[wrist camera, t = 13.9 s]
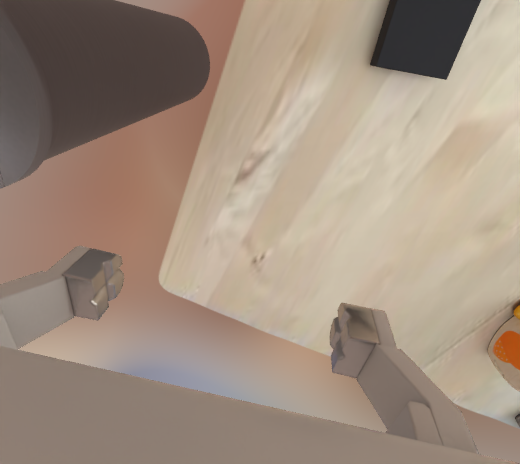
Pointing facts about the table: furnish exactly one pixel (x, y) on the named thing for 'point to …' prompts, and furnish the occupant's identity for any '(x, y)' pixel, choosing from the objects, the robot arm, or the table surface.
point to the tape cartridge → (518, 419)
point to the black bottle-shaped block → (423, 35)
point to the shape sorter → (507, 350)
